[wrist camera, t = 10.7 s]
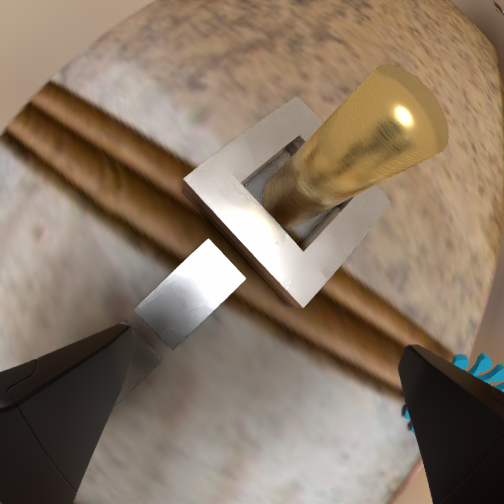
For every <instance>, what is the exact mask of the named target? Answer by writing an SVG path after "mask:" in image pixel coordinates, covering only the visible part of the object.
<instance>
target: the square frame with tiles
mask: <svg viewBox="0 0 504 504" xmlns="http://www.w3.org/2000/svg"><path fill="white" fill-rule="evenodd" d="M322 124H323V122H322V121H321V120H320V119H319V118H318V117H317V116H316V115H315V114H314V113H313V112H312V111H311V110H310V109H309V108H308V107H307V106H306V105H305V104H304V103H303V102H302V101H301V100H300V99H299V98H298V97H297V96H296V97H295V98H293V99H292V100H290V101H289V102H287V103H286V104H284V105H283V106H281V107H280V108H278V109H277V110H275V111H274V112H272V113H271V114H269V115H268V116H266V117H265V118H263V119H262V120H260V121H259V122H258V123H256V124H255V125H253V126H252V127H250V128H249V129H248V130H246V131H245V132H243V133H242V134H241V135H239V136H238V137H237V138H235V139H234V140H233V141H231V142H230V143H228V144H227V145H226V146H224V147H223V148H222V149H220V150H219V151H218V152H217V153H215V154H214V155H213V156H211V157H210V158H209V159H207V160H206V161H205V162H204V163H202V164H201V165H200V166H199V167H197V168H196V169H195V170H193V171H192V172H191V173H190V174H189V175H187V176H186V177H185V178H184V179H183V188H182V192H183V193H184V194H185V195H186V196H187V198H188V199H189V200H190V201H191V202H192V203H193V204H194V205H195V206H196V207H197V208H198V209H199V211H200V212H201V213H202V214H203V215H204V216H205V217H206V218H207V219H208V220H209V221H210V222H211V224H212V225H213V226H214V227H215V228H216V229H217V230H218V231H219V232H220V233H221V234H222V235H223V237H224V238H225V239H226V240H227V241H228V242H229V243H230V244H231V245H232V246H233V247H234V248H235V249H236V250H237V252H238V253H239V254H240V255H241V256H242V257H243V258H244V259H245V260H246V261H247V262H248V263H249V264H250V265H251V267H252V268H253V269H254V270H255V271H256V272H257V273H258V274H259V275H260V276H261V277H262V278H263V279H264V280H265V282H266V283H267V284H268V285H269V286H270V287H271V288H272V289H273V290H274V291H275V292H276V293H277V294H278V295H279V296H280V297H281V299H282V300H283V301H284V302H285V303H286V304H287V305H288V306H293V307H299V308H304V307H305V306H306V304H307V303H308V302H309V301H310V300H311V299H312V298H313V297H314V296H315V294H316V293H317V292H318V291H319V290H320V289H321V288H322V286H323V285H324V284H325V283H326V282H327V281H328V280H329V278H330V277H331V276H332V275H333V274H334V273H335V271H336V270H337V269H338V268H339V267H340V266H341V264H342V263H343V262H344V261H345V260H346V258H347V257H348V256H349V255H350V254H351V252H352V251H353V250H354V249H355V248H356V246H357V245H358V244H359V243H360V241H361V240H362V239H363V238H364V237H365V235H366V234H367V233H368V232H369V230H370V229H371V228H372V227H373V225H374V224H375V223H376V221H377V220H378V219H379V218H380V216H381V215H382V214H383V212H384V211H385V210H386V209H387V207H388V206H389V205H390V203H391V202H390V201H389V199H388V198H387V197H386V195H385V194H384V193H383V191H382V190H381V189H380V188H379V186H378V185H375V186H373V187H371V188H369V189H367V190H366V191H364V192H362V193H360V194H358V195H356V196H354V197H352V198H350V199H348V200H346V201H344V202H342V203H340V204H338V205H337V206H336V207H335V208H334V209H333V210H332V211H331V212H330V213H329V214H328V215H327V216H326V218H325V219H324V220H323V221H322V222H321V223H320V224H319V225H318V226H317V227H316V228H315V229H314V230H313V231H312V232H311V233H310V234H309V235H308V236H307V238H306V239H305V240H304V241H303V242H302V243H301V244H300V245H299V246H298V245H297V244H296V243H295V242H294V241H293V240H292V239H291V238H290V236H289V235H288V234H287V233H286V232H285V231H284V230H283V229H282V228H281V226H280V225H279V224H278V223H277V222H276V221H275V220H274V219H273V218H272V217H271V215H270V214H269V213H268V212H267V211H266V210H265V209H264V208H263V207H262V206H261V205H260V204H259V202H258V201H257V200H256V199H255V198H254V197H253V196H252V195H251V194H250V193H249V192H248V191H247V190H246V188H245V187H244V185H245V184H246V183H247V182H248V181H250V180H251V179H252V178H253V177H254V176H255V175H257V174H258V173H259V172H260V171H261V170H263V169H264V168H265V167H266V166H267V165H269V164H270V163H271V162H272V161H274V160H275V159H276V158H277V157H278V156H280V155H281V154H282V153H283V152H285V151H286V150H287V151H288V152H289V153H290V154H291V155H292V156H293V155H294V154H295V153H296V152H297V151H298V149H299V148H300V147H301V146H302V145H303V144H304V143H305V142H306V141H307V140H308V139H309V138H310V137H311V136H312V135H313V133H314V132H315V131H316V130H317V129H318V128H319V127H320V126H321V125H322ZM245 279H246V278H245V277H244V276H243V275H242V274H241V273H240V272H239V270H238V269H237V268H236V267H235V266H234V265H233V264H232V263H231V262H230V261H229V260H228V259H227V258H226V257H225V256H224V254H223V253H222V252H221V251H220V250H219V249H218V248H217V247H216V246H215V245H214V244H213V243H212V242H211V241H210V239H209V238H208V239H207V240H206V241H205V242H204V243H203V244H202V245H201V246H200V247H199V248H198V249H197V250H196V251H194V252H193V253H192V254H191V255H190V256H189V257H188V258H187V259H186V260H185V261H184V262H183V263H182V264H181V265H180V266H178V267H177V268H176V269H175V270H174V271H173V272H172V273H171V274H170V275H169V276H168V277H167V278H166V279H165V280H164V281H163V282H162V283H161V284H160V285H159V286H158V287H156V288H155V289H154V290H153V291H152V292H151V293H150V294H149V295H148V296H147V297H146V298H145V299H144V300H143V301H142V302H141V303H140V304H139V305H138V306H137V307H136V308H135V309H134V311H135V312H136V313H137V314H138V315H139V316H140V317H141V318H142V319H143V320H144V322H145V323H146V324H147V325H148V326H149V327H150V328H151V329H152V330H153V331H154V332H155V333H156V334H157V335H158V336H159V337H160V338H161V339H162V340H163V341H164V342H165V343H166V344H167V345H168V346H169V347H170V348H171V349H172V350H174V349H175V348H176V347H177V346H178V345H179V344H180V343H181V342H182V341H183V340H184V339H185V338H186V337H187V336H188V335H189V334H190V333H191V332H192V331H193V330H194V329H195V328H196V327H197V326H198V325H199V324H200V323H202V322H203V321H204V320H205V319H206V318H207V317H208V316H209V315H210V314H211V313H212V312H213V311H214V310H215V309H216V308H217V307H218V306H219V305H220V304H221V303H222V302H223V301H224V300H225V299H226V298H227V297H228V296H229V295H230V294H231V293H232V292H233V291H234V290H235V289H236V288H237V287H238V286H239V285H240V284H241V283H242V282H243V281H244V280H245ZM120 324H125V325H130V324H129V323H128V322H127V321H126V320H123V321H122V322H121V323H120ZM130 326H131V325H130ZM131 327H132V326H131ZM132 331H133V338H134V344H135V352H134V355H133V358H132V361H131V364H130V367H129V370H128V373H127V376H126V379H125V382H124V385H123V387H122V390H121V392H120V395H119V397H118V399H117V401H116V403H115V405H116V404H117V403H118V402H119V401H120V400H121V399H122V398H124V397H125V396H126V395H127V394H128V393H129V392H130V391H131V390H132V389H133V388H134V387H135V386H136V385H137V384H138V383H139V382H140V381H141V380H142V379H144V378H145V377H146V376H147V375H148V374H149V373H150V372H151V371H152V370H153V369H154V368H155V367H156V366H157V365H158V364H159V363H160V362H161V360H162V356H161V355H160V354H159V353H157V352H156V351H155V350H154V349H153V348H152V347H151V346H150V345H149V344H148V343H147V342H146V341H145V340H144V338H143V337H142V336H141V335H140V334H139V333H138V332H137V331H136V330H135V329H134V328H133V327H132ZM115 405H114V406H115Z"/></svg>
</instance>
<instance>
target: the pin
mask: <svg viewBox="0 0 504 504" xmlns="http://www.w3.org/2000/svg"><path fill="white" fill-rule="evenodd" d="M447 143H448V126H447V122H446V119H445V116H444V113H443V111H442V109H441V107H440V105H439V103H438V102H437V100H436V99H435V97H434V96H433V94H432V93H431V92H430V90H429V89H428V88H427V87H426V86H425V85H424V84H423V83H422V82H421V81H420V80H419V79H418V78H416V77H415V76H414V75H413V74H411V73H410V72H408V71H406V70H405V69H402V68H400V67H397V66H394V65H382V66H379V67H378V68H377V69H376V70H375V71H374V72H373V73H372V74H371V75H370V76H369V77H368V78H367V79H366V80H365V81H364V82H363V83H362V84H361V85H360V86H359V87H358V88H357V89H356V90H355V91H354V92H353V93H352V94H351V95H350V96H349V97H348V98H347V99H346V100H345V101H344V102H343V103H342V104H341V105H340V106H339V107H338V108H337V109H336V110H335V111H334V112H333V113H332V114H331V116H330V117H329V118H328V119H327V120H326V121H325V122H324V123H323V124H322V125H321V126H320V127H319V128H318V129H317V130H316V131H315V132H314V133H313V135H312V136H311V137H310V138H309V139H308V140H307V141H306V142H305V143H304V144H303V145H302V146H301V147H300V148H299V149H298V151H297V152H296V153H295V154H294V155H293V156H292V157H291V158H290V159H289V160H288V161H287V162H286V164H285V165H284V166H283V167H282V168H281V169H280V170H279V171H278V172H277V173H276V174H275V176H274V177H273V178H272V179H271V180H270V181H269V182H268V183H267V185H266V186H265V188H264V191H263V205H264V208H265V210H266V211H267V212H268V213H269V214H270V215H271V217H272V218H273V219H274V220H275V221H276V222H277V223H279V224H281V225H284V226H296V225H299V224H301V223H303V222H305V221H307V220H309V219H311V218H313V217H315V216H317V215H319V214H320V213H322V212H324V211H326V210H328V209H330V208H332V207H334V206H336V205H338V204H340V203H342V202H344V201H346V200H348V199H350V198H352V197H354V196H356V195H358V194H360V193H362V192H364V191H366V190H367V189H369V188H371V187H373V186H375V185H377V184H379V183H381V182H383V181H385V180H387V179H389V178H391V177H393V176H395V175H397V174H399V173H401V172H403V171H405V170H407V169H409V168H411V167H413V166H415V165H417V164H419V163H421V162H423V161H425V160H426V159H428V158H430V157H432V156H434V155H436V154H438V153H440V152H442V151H443V150H444V149H445V148H446V146H447Z"/></svg>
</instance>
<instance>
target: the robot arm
mask: <svg viewBox="0 0 504 504" xmlns="http://www.w3.org/2000/svg"><path fill="white" fill-rule="evenodd" d="M134 352H135V344H134V338H133V331H132V327H131V326H130V325H125V324H117V325H115V326H112V327H110V328H108V329H105V330H103V331H101V332H98V333H96V334H94V335H91V336H89V337H87V338H84V339H82V340H79V341H77V342H75V343H72V344H70V345H68V346H65V347H63V348H60V349H58V350H56V351H53V352H51V353H48V354H46V355H44V356H41V357H39V358H38V359H34V360H31V361H29V362H27V363H24V364H21V365H19V366H16V367H13V368H10V369H7V370H4V371H1V372H0V504H73V502H74V499H75V497H76V494H77V493H76V492H77V491H78V489H79V486H80V484H81V481H82V479H83V476H84V474H85V471H86V469H87V467H88V464H89V462H90V459H91V457H92V455H93V452H94V450H95V448H96V445H97V443H98V441H99V438H100V436H101V434H102V432H103V429H104V427H105V425H106V423H107V421H108V418H109V416H110V414H111V412H112V410H113V407H114V405H115V403H116V401H117V399H118V397H119V395H120V392H121V390H122V387H123V385H124V382H125V379H126V376H127V373H128V370H129V367H130V364H131V361H132V358H133V355H134ZM398 371H399V376H400V380H401V385H402V389H403V394H404V398H405V403H406V407H407V410H408V413H409V417H410V420H411V423H412V426H413V429H414V433H415V436H416V439H417V443H418V446H419V450H420V453H421V457H422V461H423V464H424V468H425V472H426V476H427V480H428V484H429V488H430V493H431V497H432V502H433V504H504V392H503V391H501V390H499V389H497V388H495V387H494V386H491V385H490V384H488V383H486V382H485V381H483V380H481V379H479V378H477V377H476V376H474V375H472V374H470V373H468V372H466V371H465V370H463V369H461V368H459V367H458V366H456V365H454V364H452V363H450V362H449V361H447V360H445V359H443V358H441V357H440V356H438V355H436V354H434V353H432V352H431V351H429V350H427V349H425V348H423V347H422V346H420V345H417V344H414V345H407V346H406V347H405V350H404V352H403V355H402V357H401V360H400V362H399V366H398Z"/></svg>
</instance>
